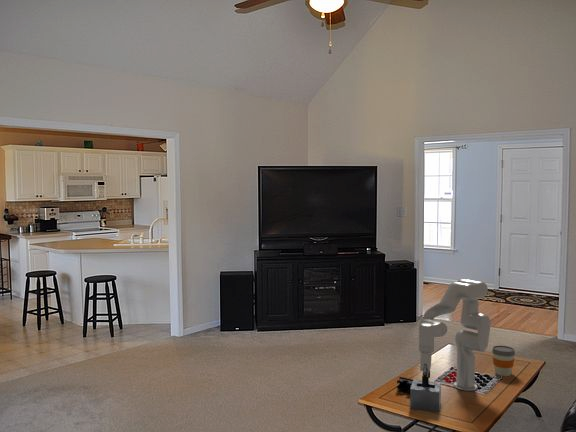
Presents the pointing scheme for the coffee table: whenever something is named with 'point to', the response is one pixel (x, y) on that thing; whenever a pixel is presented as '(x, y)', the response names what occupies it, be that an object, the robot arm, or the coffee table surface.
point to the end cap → (404, 385)
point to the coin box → (425, 396)
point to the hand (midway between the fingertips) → (426, 380)
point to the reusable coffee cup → (503, 360)
